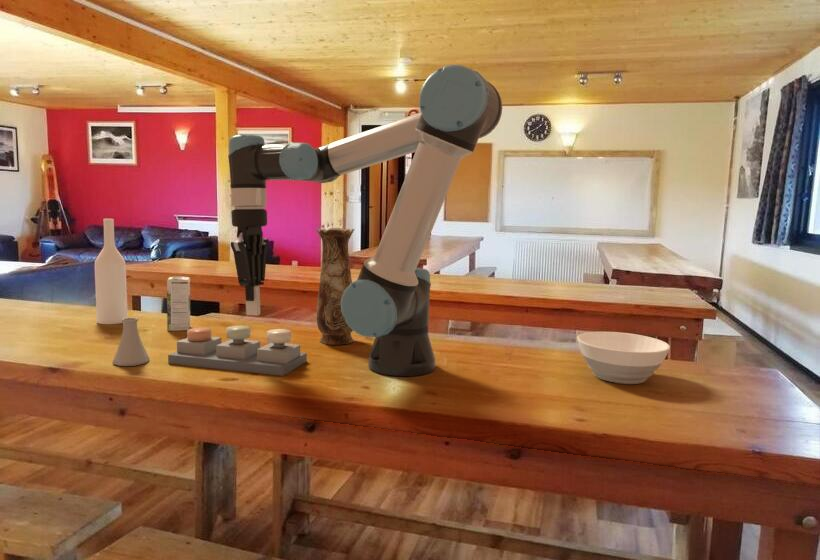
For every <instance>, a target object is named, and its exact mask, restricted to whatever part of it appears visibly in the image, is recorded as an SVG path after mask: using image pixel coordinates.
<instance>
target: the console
mask: <svg viewBox="0 0 820 560" xmlns="http://www.w3.org/2000/svg"><path fill="white" fill-rule="evenodd" d="M307 354H308V353H307V352H301V344H296V343H295V344H294V343H285V349H283V350H282V349H274V343H270V342H268V343H267V344H265V345H264V346H261V341H260V340H253V339H244V345H242V346H241V345H233V339H228V340H226V341H224V342H222V337H221V336H220V337H219V336H211V339H210V340H206V341H202V342H199V341H189V340H188V339H187V337H186V338H182V339H180V340H177V341H176V351H175V352H174V351H173V352H172V353H168V355H167V364H170V365H181V366H188V367H197V368H198V367H199V368H205V369H207V368H208V369H216V370H226V371H235V372H243V373H244V372H245V373H251V374H262V375H273V376H281V377H282V376H283V377H285V376H286V375H287V374H289V373H291V372H292V371H294V370H296V369H297V368H299V367H300V366H302V365H304V364H305V363H306V362H307V361H308V357H307V356H308V355H307Z"/></svg>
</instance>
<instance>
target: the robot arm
mask: <svg viewBox="0 0 820 560" xmlns="http://www.w3.org/2000/svg"><path fill="white" fill-rule="evenodd" d="M418 97H419V98H418V104H419V109H420V112H417V113H415V114H411V115H409V116H405V117H402V118H399V119H397V120H394V121H391V122H389V123H384V124H382V125H380V126H377V127H374V128H370V129H369V130H368V129H367V130H365V131H362V132H359V133H355V134H353V135H351V136H350V135H349V136H347V137H345V138H342V139H339V140H335V141H333V142H331V143H329V144H328V143H327V144H323V145H321V146H319V147H312V145H311V144H310V143H307V142H296V141H291V142H287V143H273V144H265V138H264V137H262V136H260V135H256V134H237V135H233V136H231V137H230V138H229V140H228V155H227V156H228V163H229V167H228V168H229V177H230V194H229V197H230V202H231V203H230V204H231V207H232V208H233V207H234V209H232V211H231V225H232V227H235V228H237V232H236V240H235V241H230V248H231V251H232V253H233V259H234V263H235V268H236V274H237V280H238V285H239V286H240V287H244V293H245V295H244V296H245V313H246V314H245V315H246V316H256V317H257V316H260V315H261V291H260V286H264V285H265V279H266V277H265V276H266V267H267V266H266V265H267V254H268V253H267V252H268V246H269V243H270V242H269V238H264V233H263V228H262V227H266V226H267V225H268V210H267V209H265V207H266V208H267V206H268V203H267V201H268V199H267V181H286V180H287V181H300V182H311V183H312V182H314V183H317V184H326V183H332V182H335V181H336V180H337V179H338V178H339V177H340V176H343V175H346V174H349V173H352V172H356V171H359V170H362V169H366V168H369V167H371V166H375V165H377V164H382V163H384V162H385V163H386V162H387V161H391V160H394V159H397V158H400V157H401V158H402V157H404V156H406V155H407V156H408V155H410V154H413V153H414V155H413V158H412V160H411V162H410V164H409V168H408V170H407V171H406V172H407V173H406V175H405V178H404V181H403V182H402V185H401V188H400V191H399V193H398V195H397V198H396V201H395V204H394V206H393V208H392V211H391V213H390V217H389V219H388V221H387V224H386V226H385V229H384V231H383V234H382V237H381V239H380V242H379V244H378V247H377V249H376V252H375V254H374V256H371V257H369V258H367V259H365V260H364V262H363V264H362V267H361V269H360V272H359V275H357V276H358V277H357V279H356V280H355V281H352V283H351V284H350V285H349V286H348V287H347V288H346V289H345V291H344V293H343V295H342V298H341V311H342V315H343V316H344V319H345V321H346V323H347V325H348V326H349V327H350V328H351V329H352V330H353V331H352V332H354V333H356V334H357V335H359V336H361V337H365V338H374V341H373V344H372V346H371V349H370V353H369V356H368V368H369V370H371V371H373V372H375V373H378V374H380V375H381V374H382V375H387V376H395V377H414V376H415V377H416V376H422V375H426V374H430V373H432V372H433V371H435V369H436V357H435V354H434V349H433V346H432V343H431V340H430V335H429V326H430V324H429V323H430V301H431V300H430V299H431V298H430V297H431V286H432V282H431V274H430V272H429V270H428V269H426V268H422V267H421V268H419V267H418V266H419V262H420V260H421V258H422V255H423V253H424V250H425V248H426V246H427V243H428V240H429V237H431V233H432V230H433V229H434V227H435V223H436V221H437V219H438V216H439V214H440V212H441V209H442V207H443V205H444V202H445V199H446V197H447V195H448V192H449V190H450V187H451V185H452V183H453V181H454V178H455V176H456V172H457V171H458V168H459V165H460V163H461V161H462V159H464V158H465V157H467V156H468V157H469V156H470V155H472V154H473V153H474V151H475V148H476V147H477V144H478V141H479V139H481V138H484V137H486V136H487V135H489V134H490V133H492V132H493V131H494V130H495V129H496V127H497V126H498V124H499V122H500V120H501V117H502V113H503V100H502V98H501V95H500V92H499V91H498V89H497V88H496V87H495V86H494V85H493V84H492V83H491V82H490V81H487V80H486V79H485V78H484V77H483V75H482V74H480V73H479V72H478V71H476V70H475V69H472V68H471V67H470V68H469V67H468V66H464V65H462V64H461V65H460V64H449V65H445V66H442V67H440V68H438V69H436V70H434V72H432V73H431V74H430V75H429V76H428V77H427V78H426V80H425V81H424V83H423V85H422V86H421V89H420V92H419V96H418Z"/></svg>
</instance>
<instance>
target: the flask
mask: <svg viewBox="0 0 820 560" xmlns="http://www.w3.org/2000/svg"><path fill="white" fill-rule="evenodd" d="M121 321H122V322H123V323H122V333H121V338H120V341H119V343H118V347H117V350H116V352H115V354H114V358H113V360H112V365H116V366H119V367H135V366H138V365H142V364H147V363H148V362H149V361H150V360H151V359H150V356H149V354H148V353H147V351H146V350H147V349H146V348H145V346H144V344H143V341H142V339H141V337H140V335H139V330H138V329H139V328H138V321H139V318H137V317H128V318H124V319H122V320H121Z"/></svg>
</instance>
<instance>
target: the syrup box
mask: <svg viewBox="0 0 820 560" xmlns="http://www.w3.org/2000/svg"><path fill="white" fill-rule="evenodd" d="M166 317H167V318H166V319H167V322H166V323H167V324H166V326H167V327H166V329H167V332H175V331H176V332H178V331H180V332H183V331H187V330H189V329H191V328H190V327H191V277H189V276H169V277H168V279H167V280H166Z"/></svg>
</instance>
